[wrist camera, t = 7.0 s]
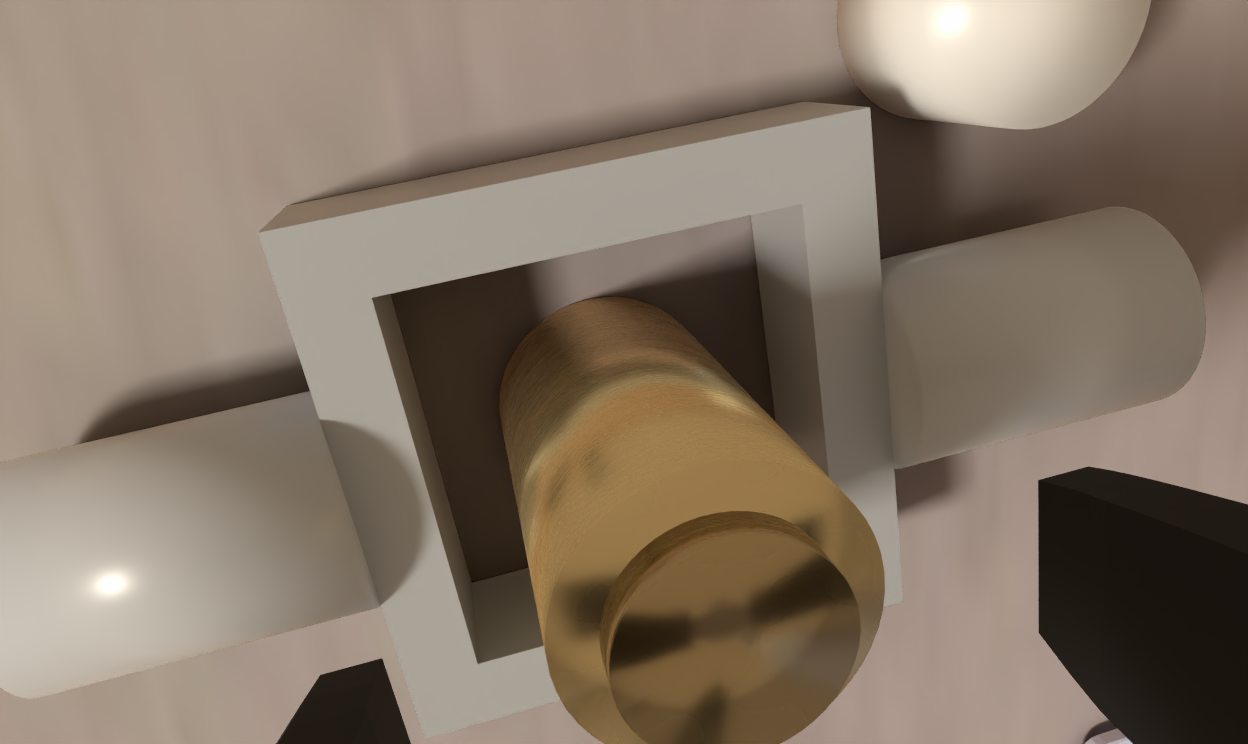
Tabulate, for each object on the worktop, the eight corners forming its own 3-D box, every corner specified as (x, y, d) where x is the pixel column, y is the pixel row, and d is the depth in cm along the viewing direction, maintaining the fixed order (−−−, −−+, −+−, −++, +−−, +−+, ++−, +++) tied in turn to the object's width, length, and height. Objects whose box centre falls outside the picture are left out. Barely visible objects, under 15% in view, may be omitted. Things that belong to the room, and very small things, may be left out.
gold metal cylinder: (704, 284, 16) (918, 456, 9) (713, 478, 17) (904, 761, 10) (485, 312, 15) (531, 522, 8) (512, 512, 17) (570, 837, 10)
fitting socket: (1060, 49, 16) (1226, 44, 12) (1056, 476, 19) (1188, 562, 16) (-44, 272, 13) (-202, 339, 10) (165, 720, 16) (97, 884, 13)
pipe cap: (1024, -119, 15) (1160, -163, 12) (1024, 98, 16) (1147, 105, 13) (827, -85, 14) (922, -123, 12) (843, 136, 16) (932, 150, 13)
